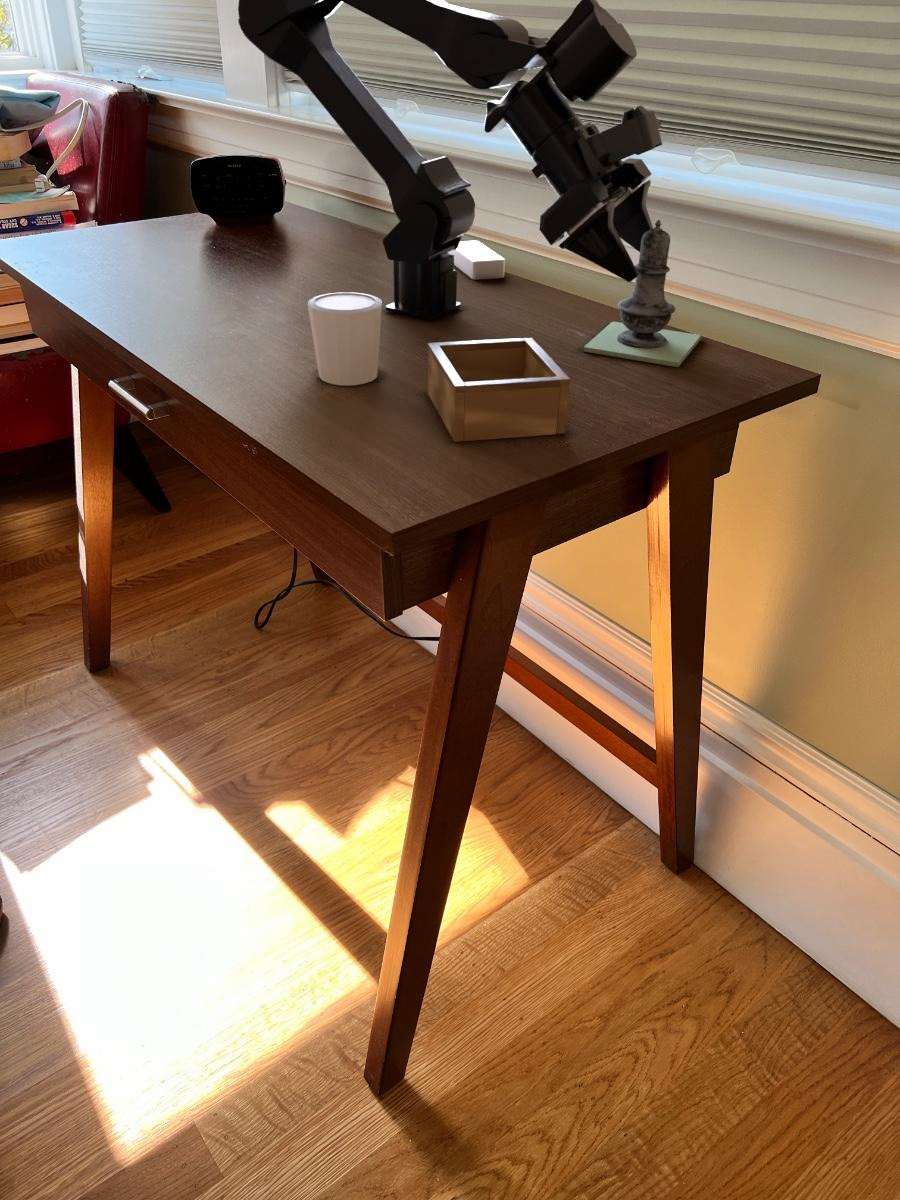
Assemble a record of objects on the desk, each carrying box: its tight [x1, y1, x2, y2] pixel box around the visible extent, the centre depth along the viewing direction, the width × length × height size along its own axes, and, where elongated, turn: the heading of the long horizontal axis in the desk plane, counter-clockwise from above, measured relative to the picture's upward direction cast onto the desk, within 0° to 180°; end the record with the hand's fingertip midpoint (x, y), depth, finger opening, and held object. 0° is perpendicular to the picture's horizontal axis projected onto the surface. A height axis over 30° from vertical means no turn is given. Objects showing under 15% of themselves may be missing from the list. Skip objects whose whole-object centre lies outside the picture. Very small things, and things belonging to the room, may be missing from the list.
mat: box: [582, 321, 702, 368], centre depth 96 cm, size 10×10×1 cm
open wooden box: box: [427, 337, 571, 443], centre depth 78 cm, size 11×10×5 cm
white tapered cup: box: [307, 291, 383, 386], centre depth 85 cm, size 7×7×7 cm
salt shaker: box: [617, 219, 676, 348], centre depth 92 cm, size 6×6×12 cm
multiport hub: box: [447, 240, 506, 281], centre depth 121 cm, size 4×11×2 cm, turn 18°
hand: (646, 268), depth 92 cm, fingers open, 9 cm apart
